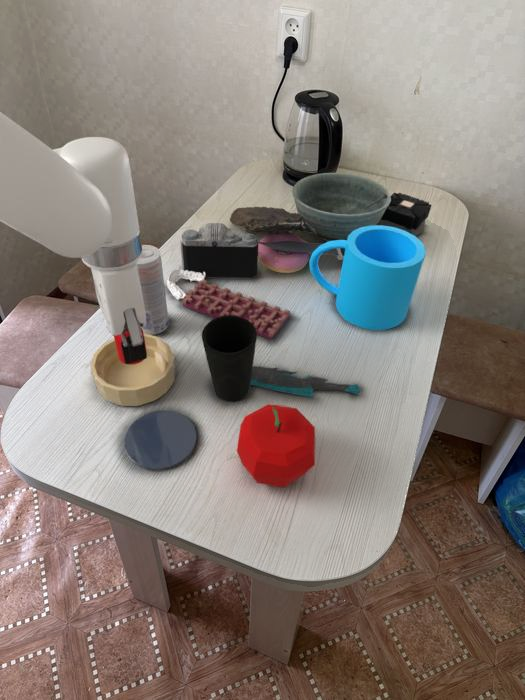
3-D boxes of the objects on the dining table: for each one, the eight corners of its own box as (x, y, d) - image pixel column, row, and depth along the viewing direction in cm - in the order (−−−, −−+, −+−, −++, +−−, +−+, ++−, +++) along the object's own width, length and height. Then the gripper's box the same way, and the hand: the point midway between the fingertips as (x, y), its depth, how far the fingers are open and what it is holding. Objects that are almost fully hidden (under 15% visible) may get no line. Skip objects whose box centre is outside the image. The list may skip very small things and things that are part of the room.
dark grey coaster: (135, 481, 66) (135, 479, 66) (116, 425, 73) (116, 423, 72) (206, 455, 70) (206, 453, 69) (183, 404, 76) (182, 401, 76)
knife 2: (358, 409, 77) (361, 385, 80) (359, 404, 76) (362, 381, 80) (205, 378, 80) (214, 356, 84) (204, 373, 80) (214, 352, 83)
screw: (383, 196, 105) (385, 192, 105) (387, 199, 105) (389, 195, 104) (361, 208, 101) (363, 205, 100) (365, 212, 101) (367, 208, 100)
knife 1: (389, 266, 106) (381, 249, 109) (393, 260, 105) (385, 243, 108) (258, 256, 95) (253, 237, 98) (261, 249, 94) (256, 230, 97)
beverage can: (175, 321, 90) (167, 249, 79) (157, 340, 86) (147, 267, 76) (148, 312, 91) (137, 240, 81) (130, 330, 88) (116, 257, 77)
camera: (256, 260, 104) (258, 216, 97) (257, 279, 100) (259, 235, 93) (184, 258, 104) (181, 214, 97) (182, 278, 99) (178, 233, 92)
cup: (255, 408, 76) (255, 355, 67) (205, 406, 76) (198, 353, 67) (257, 369, 81) (257, 315, 72) (209, 368, 81) (204, 314, 72)
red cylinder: (122, 367, 74) (116, 340, 70) (115, 349, 77) (109, 322, 73) (150, 359, 76) (145, 332, 72) (142, 342, 78) (137, 314, 74)
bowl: (334, 269, 103) (342, 226, 96) (270, 226, 115) (272, 184, 108) (400, 238, 113) (411, 197, 106) (335, 201, 124) (341, 161, 117)
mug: (412, 296, 98) (431, 236, 89) (398, 338, 89) (418, 276, 80) (316, 270, 103) (325, 210, 94) (294, 308, 94) (301, 246, 85)
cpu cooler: (371, 228, 116) (412, 243, 112) (376, 205, 112) (419, 220, 108) (389, 210, 122) (429, 224, 119) (395, 188, 118) (436, 202, 115)
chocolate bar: (201, 284, 98) (200, 276, 96) (289, 316, 92) (290, 308, 90) (180, 304, 93) (179, 296, 92) (271, 340, 87) (272, 331, 86)
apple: (323, 490, 67) (333, 445, 60) (244, 505, 65) (245, 460, 58) (300, 426, 74) (307, 380, 67) (229, 438, 72) (229, 392, 65)
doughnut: (316, 272, 103) (320, 256, 100) (267, 281, 100) (269, 264, 97) (295, 240, 110) (298, 224, 106) (248, 247, 106) (250, 230, 103)
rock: (291, 223, 117) (227, 223, 115) (292, 206, 116) (227, 206, 113) (322, 235, 94) (242, 235, 91) (323, 214, 93) (243, 214, 90)
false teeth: (182, 266, 100) (182, 258, 98) (207, 281, 99) (208, 273, 97) (156, 291, 96) (155, 282, 94) (182, 306, 95) (182, 298, 93)
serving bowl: (106, 418, 74) (101, 400, 71) (88, 363, 81) (83, 345, 79) (185, 393, 78) (184, 375, 75) (161, 343, 86) (159, 325, 83)
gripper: (67, 217, 67) (94, 322, 80) (94, 289, 56) (120, 396, 69) (123, 207, 69) (140, 310, 82) (160, 274, 59) (173, 380, 71)
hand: (131, 348), depth 75 cm, fingers closed on red cylinder, 4 cm apart
